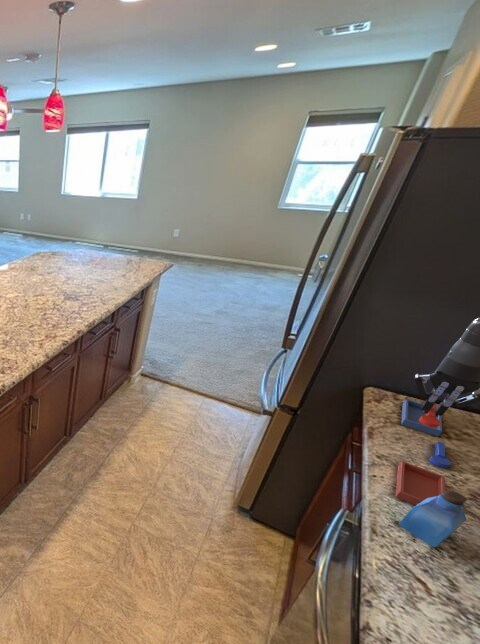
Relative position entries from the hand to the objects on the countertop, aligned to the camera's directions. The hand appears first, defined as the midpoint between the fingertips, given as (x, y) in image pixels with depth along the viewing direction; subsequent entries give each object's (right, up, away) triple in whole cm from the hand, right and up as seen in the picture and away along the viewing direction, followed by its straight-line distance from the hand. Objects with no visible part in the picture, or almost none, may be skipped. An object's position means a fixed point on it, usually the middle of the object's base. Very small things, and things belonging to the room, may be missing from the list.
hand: (429, 413), depth 103 cm
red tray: (-10, -18, -6) cm, 22 cm away
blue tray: (+16, -4, +16) cm, 23 cm away
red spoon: (-1, -1, 0) cm, 1 cm away
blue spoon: (+6, -12, +3) cm, 14 cm away
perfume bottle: (-21, -25, -16) cm, 36 cm away
